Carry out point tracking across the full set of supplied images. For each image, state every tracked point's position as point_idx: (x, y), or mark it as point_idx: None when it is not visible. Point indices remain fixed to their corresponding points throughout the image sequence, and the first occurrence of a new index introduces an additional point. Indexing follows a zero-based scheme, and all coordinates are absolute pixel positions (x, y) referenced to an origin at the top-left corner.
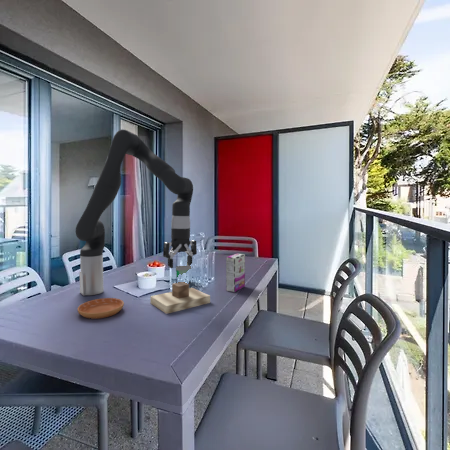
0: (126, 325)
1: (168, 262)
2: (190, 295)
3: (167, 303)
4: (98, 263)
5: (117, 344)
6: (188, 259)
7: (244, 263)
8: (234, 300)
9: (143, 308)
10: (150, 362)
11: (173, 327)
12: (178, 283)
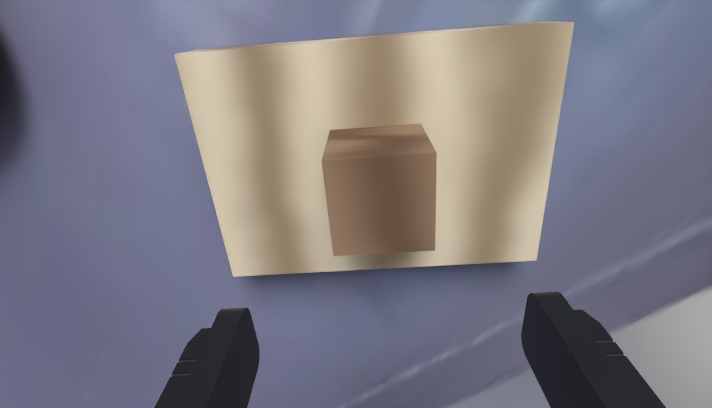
0: (53, 272)
1: (176, 394)
2: (438, 195)
3: (249, 248)
4: None
5: (34, 377)
6: (567, 386)
7: None
8: (648, 272)
9: (141, 116)
10: None
11: None
12: (373, 185)
